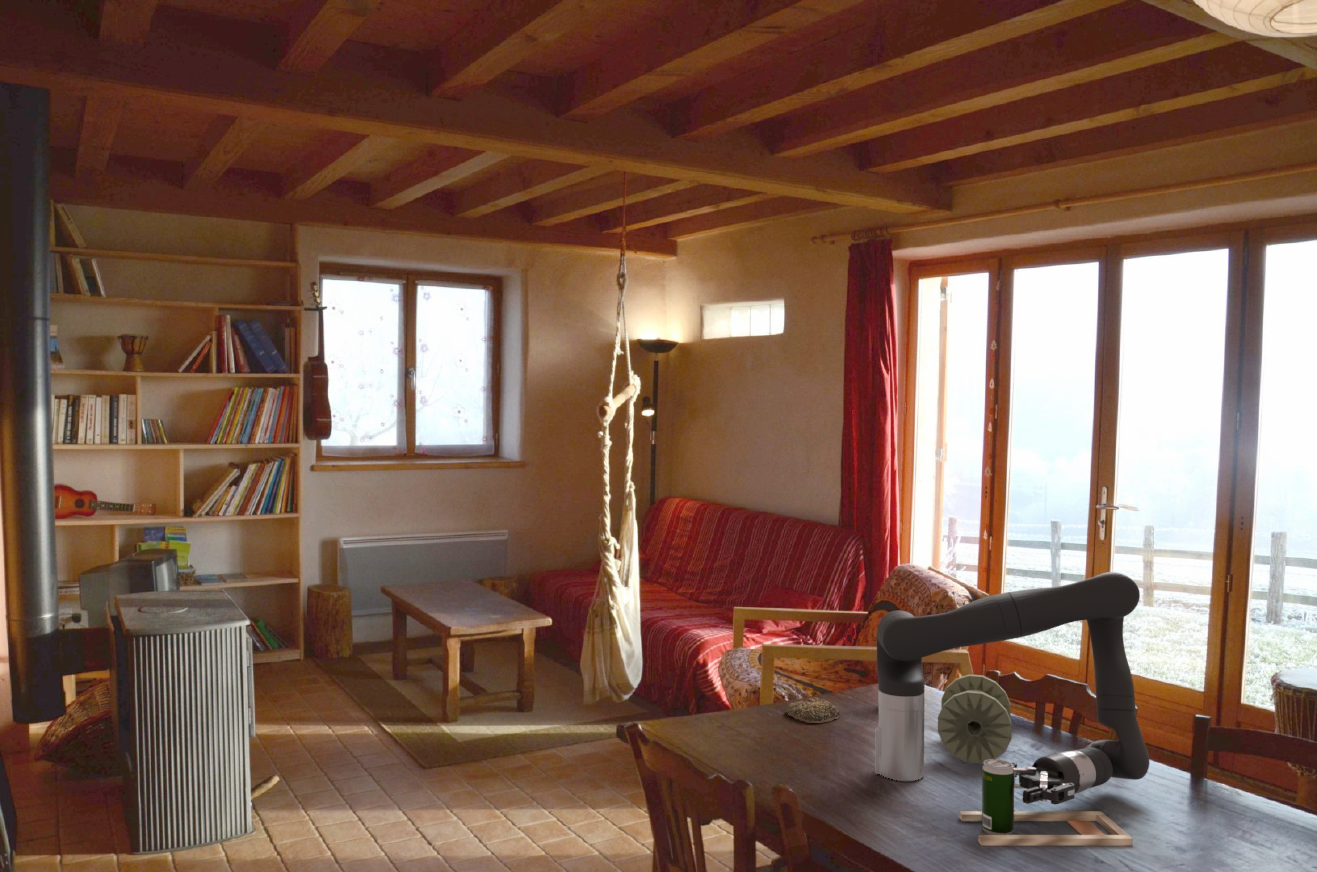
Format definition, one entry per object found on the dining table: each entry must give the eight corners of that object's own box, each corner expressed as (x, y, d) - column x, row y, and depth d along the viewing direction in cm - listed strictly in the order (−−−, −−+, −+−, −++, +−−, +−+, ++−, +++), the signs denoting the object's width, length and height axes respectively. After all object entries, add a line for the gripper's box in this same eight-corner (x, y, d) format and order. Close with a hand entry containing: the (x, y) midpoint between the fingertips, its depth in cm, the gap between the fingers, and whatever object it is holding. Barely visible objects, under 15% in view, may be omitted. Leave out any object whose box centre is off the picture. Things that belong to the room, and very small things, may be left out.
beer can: (1000, 839, 172) (1001, 770, 172) (975, 829, 177) (975, 762, 177) (1020, 833, 175) (1020, 765, 175) (994, 822, 180) (995, 756, 180)
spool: (1011, 767, 210) (1011, 696, 210) (937, 759, 214) (938, 689, 214) (1010, 743, 225) (1010, 677, 225) (941, 736, 230) (941, 672, 230)
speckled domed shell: (805, 727, 238) (805, 706, 238) (778, 713, 249) (779, 693, 249) (850, 721, 243) (850, 700, 243) (822, 707, 254) (822, 688, 254)
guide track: (981, 845, 170) (981, 838, 170) (959, 817, 182) (959, 811, 182) (1132, 845, 170) (1132, 838, 170) (1100, 817, 182) (1101, 811, 182)
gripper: (1032, 743, 191) (973, 757, 183) (1098, 765, 179) (1038, 781, 171) (1032, 782, 191) (973, 797, 183) (1098, 806, 179) (1038, 824, 171)
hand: (1004, 789), depth 177 cm, fingers open, 8 cm apart
